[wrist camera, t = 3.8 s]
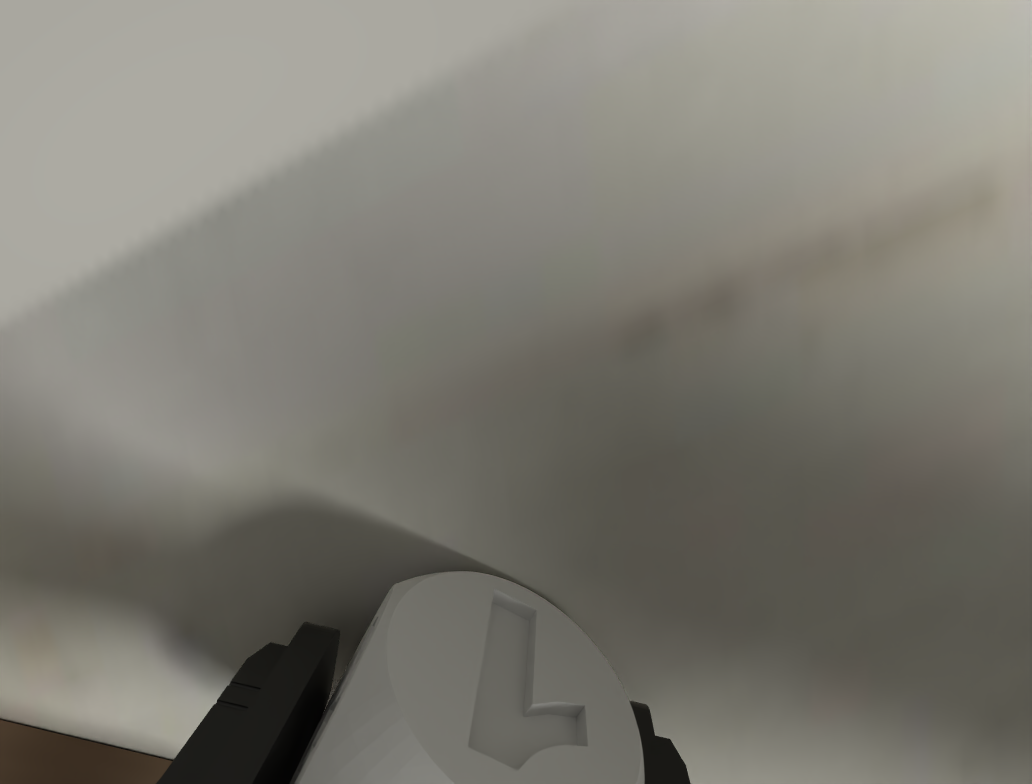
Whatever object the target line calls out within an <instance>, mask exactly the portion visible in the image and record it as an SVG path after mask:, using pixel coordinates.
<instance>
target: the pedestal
mask: <svg viewBox="0 0 1032 784" xmlns="http://www.w3.org/2000/svg"><path fill="white" fill-rule="evenodd" d="M172 762H173V761H170V760H165V759H161V758H157V757H153V756H149V755H145V754H140V753H136V752H132V751H128V750H124V749H120V748H115V747H111V746H107V745H103V744H99V743H95V742H90V741H86V740H82V739H78V738H74V737H69V736H65V735H61V734H57V733H53V732H49V731H44V730H40V729H36V728H32V727H28V726H24V725H19V724H15V723H11V722H7V721H3V720H0V784H156V783H157V782H158V780H159V779H160V778H161V777H162V775H163V774H164V773H165V771H166V770H167V769H168V767H169V766H170V764H171V763H172Z"/></svg>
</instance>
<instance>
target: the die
mask: <svg viewBox="0 0 1032 784" xmlns="http://www.w3.org/2000/svg"><path fill="white" fill-rule="evenodd" d="M290 784H645V773H644V758H643V750H642V743H641V738H640V734H639V729H638V726H637V723H636V719H635V716H634V713H633V710H632V707H631V704H630V702H629V699H628V697H627V695H626V692H625V690H624V688H623V686H622V684H621V682H620V680H619V678H618V677H617V675H616V673H615V672H614V670H613V668H612V667H611V665H610V664H609V662H608V661H607V659H606V658H605V656H604V655H603V654H602V653H601V651H600V650H599V649H598V647H597V646H596V645H595V644H594V643H593V641H592V640H591V639H590V638H589V637H588V636H587V635H586V634H585V633H584V632H583V630H582V629H581V628H580V627H579V626H578V625H576V624H575V623H574V622H573V621H572V620H571V619H570V618H569V617H568V616H566V615H565V614H564V613H563V612H562V611H560V610H559V609H558V608H557V607H555V606H554V605H553V604H551V603H550V602H548V601H547V600H545V599H544V598H542V597H541V596H539V595H537V594H536V593H534V592H532V591H530V590H528V589H527V588H525V587H522V586H520V585H518V584H516V583H514V582H511V581H509V580H506V579H503V578H500V577H497V576H493V575H489V574H484V573H479V572H470V571H452V572H438V573H433V574H427V575H423V576H418V577H414V578H411V579H407V580H404V581H402V582H399V583H396V584H394V585H393V586H392V587H391V589H390V591H389V592H388V594H387V595H386V597H385V599H384V600H383V602H382V604H381V606H380V607H379V609H378V611H377V613H376V615H375V616H374V618H373V620H372V622H371V624H370V625H369V627H368V629H367V631H366V633H365V635H364V636H363V638H362V640H361V642H360V644H359V646H358V648H357V649H356V651H355V653H354V655H353V657H352V659H351V661H350V663H349V665H348V666H347V668H346V670H345V672H344V674H343V676H342V678H341V680H340V682H339V684H338V686H337V688H336V689H335V691H334V693H333V695H332V697H331V699H330V701H329V703H328V705H327V707H326V709H325V711H324V713H323V715H322V717H321V719H320V721H319V723H318V725H317V727H316V729H315V732H314V734H313V736H312V738H311V740H310V742H309V744H308V746H307V748H306V750H305V752H304V754H303V756H302V758H301V761H300V763H299V765H298V767H297V769H296V771H295V773H294V775H293V777H292V780H291V782H290Z"/></svg>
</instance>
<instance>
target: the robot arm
mask: <svg viewBox="0 0 1032 784" xmlns="http://www.w3.org/2000/svg"><path fill="white" fill-rule="evenodd" d="M339 638H340V631H339V630H337V629H333V628H329V627H325V626H320V625H316V624H312V623H308V622H305V623H304V624H303V625H302V626H301V627H300V629H299V630H298V632H297V633H296V635H295V636H294V638H293V640H292V641H291V643H290V644H289V646H284V645H280V644H275V643H269V644H268V645H266V646H265V647H263V648H262V649H261V650H259V651H258V652H256V653H255V654H253V655H252V656H251V657H249V658H248V659H247V660H246V661H245V663H244V664H243V665H242V667H241V668H240V669H239V671H238V672H237V674H236V675H235V676H234V678H233V679H232V680H231V683H230V685H229V686H227V687H226V689H225V690H224V691H223V693H222V694H221V696H220V697H219V698H218V700H217V703H216V704H214V705H213V707H212V708H211V709H210V711H209V712H208V713H207V715H206V716H205V718H204V719H203V720H202V722H201V723H200V724H199V726H198V727H197V729H196V730H195V731H194V733H193V734H192V735H191V737H190V738H189V740H188V741H187V742H186V744H185V745H184V747H183V748H182V749H181V751H180V752H179V753H178V755H177V756H176V758H175V759H174V760H173V762H172V763H171V764H170V766H169V767H168V769H167V770H166V771H165V773H164V774H163V775H162V777H161V778H160V779H159V780H158V782H157V783H156V784H290V782H291V780H292V777H293V775H294V773H295V771H296V769H297V767H298V765H299V763H300V761H301V758H302V756H303V754H304V752H305V750H306V748H307V746H308V744H309V742H310V740H311V738H312V736H313V734H314V732H315V729H316V727H317V725H318V723H319V721H320V719H321V717H322V715H323V712H324V710H325V707H326V704H327V701H328V698H329V695H330V691H331V687H332V681H333V675H334V669H335V663H336V657H337V651H338V644H339ZM629 702H630V704H631V707H632V710H633V713H634V716H635V719H636V723H637V726H638V729H639V734H640V738H641V743H642V750H643V758H644V773H645V784H690V780H689V776H688V772H687V768H686V765H685V763H684V762H683V760H682V758H681V757H680V755H679V753H678V752H677V750H676V748H675V747H674V745H673V743H672V742H671V740H670V739H667V738H663V737H659V736H655V734H654V729H653V724H652V719H651V714H650V710H649V707H648V706H647V705H646V704H642V703H637V702H633V701H629Z"/></svg>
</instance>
